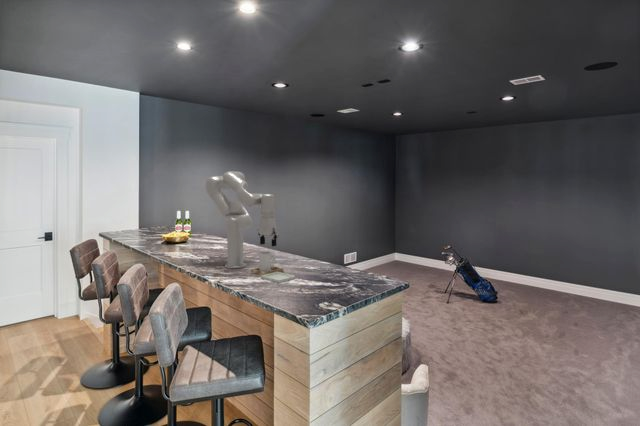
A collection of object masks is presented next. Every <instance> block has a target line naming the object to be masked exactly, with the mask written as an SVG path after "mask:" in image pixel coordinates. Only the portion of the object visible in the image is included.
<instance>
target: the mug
mask: <svg viewBox="0 0 640 426" xmlns="http://www.w3.org/2000/svg"><path fill="white" fill-rule="evenodd" d="M258 257H259V258H258V260H259V261H258V263H259V265H258V268H259V270H260V271H262V272H268V271H272V270H271V267H274V266H275V263H276V257H275V253H272V252H271V251H260V252H258ZM272 258H273V260H272Z"/></svg>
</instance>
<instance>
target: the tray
mask: <svg viewBox="0 0 640 426" xmlns="http://www.w3.org/2000/svg"><path fill="white" fill-rule="evenodd" d="M260 278H261V280H265V281H269V282H273V283H276V284H282V283H285V282H288V281H292V280H295V279H296V276H295V275H293V274H288V273H284V272H274V273H270V274H266V275H262V276H260Z"/></svg>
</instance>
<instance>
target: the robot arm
mask: <svg viewBox="0 0 640 426" xmlns="http://www.w3.org/2000/svg"><path fill="white" fill-rule="evenodd" d="M248 187H249V185H248V182H247V181H246V177H245V174H244V173H243V172H241V171H236V170H235V171H232V170H230V171H226V172H224V173H223V175H212V176H210V177H207V179H206V180H205V190H206V193H207V194H208V196H209V197H210V198H211V200H212V202H213V203H214V205H215V206H216V208H217V209H218V211H219V213H220V215H221V216H222V217H225V218H226V219H225V230H226V239H227V245H226V247H227V250H226V251H227V258H225V259H224V261H225V262H226V263H225V265H224V267H225V268H227V269H241V268H245V267H246V266H247V264H246V263H245V262H244V236H243V234H242V232H241V231H246V230H248V229H250V228H251V227H252V226H253V219H252V217H251V215H250V214H249V212H248V211H247V208H246V207H248V208H252V207H253V208H255V207H260V219H259V224H258V229H257V230H256V231H257V235H258V237H259V241H260V242H259V244H260V245H265V244H266V237H271V247H276V246H277V240H278V237H279V234H280V231H279V230H277V223H276V218H275V195H274V194H272V193H266V194H265V193H250V192H249V191H247V190H248ZM230 189H232V191H234V192H235V193H236V196H237V199H238V200H239V201H231V200H230V199H229V198H228V196H227V195H226V193H225V192H223V191H221V190H230ZM244 205H245V206H246V207H245V206H244Z"/></svg>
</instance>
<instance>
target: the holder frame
mask: <svg viewBox="0 0 640 426" xmlns="http://www.w3.org/2000/svg"><path fill="white" fill-rule="evenodd" d="M250 271H251V274H252V275H257V276H260V277H261V276H262V275H266V274H270V273H274V272H281V273H284V268H283V267H280V266H275V265H274V267H271V271H268V272H262V271H260V270H259V267H256V268H252V269H251V270H250Z"/></svg>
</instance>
